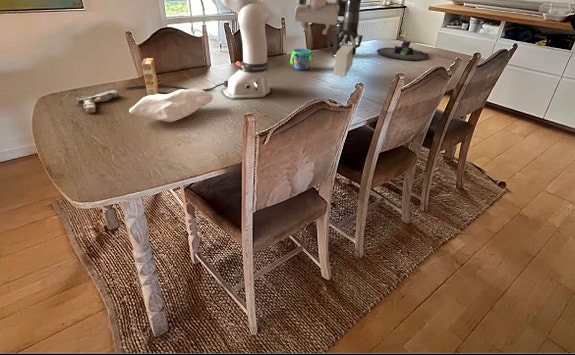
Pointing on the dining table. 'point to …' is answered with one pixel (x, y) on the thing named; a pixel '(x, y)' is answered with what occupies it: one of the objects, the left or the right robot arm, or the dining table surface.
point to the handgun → (95, 100)
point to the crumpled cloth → (171, 104)
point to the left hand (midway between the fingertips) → (314, 33)
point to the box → (343, 60)
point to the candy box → (150, 76)
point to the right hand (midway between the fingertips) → (347, 54)
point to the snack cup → (301, 58)
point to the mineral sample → (403, 52)
